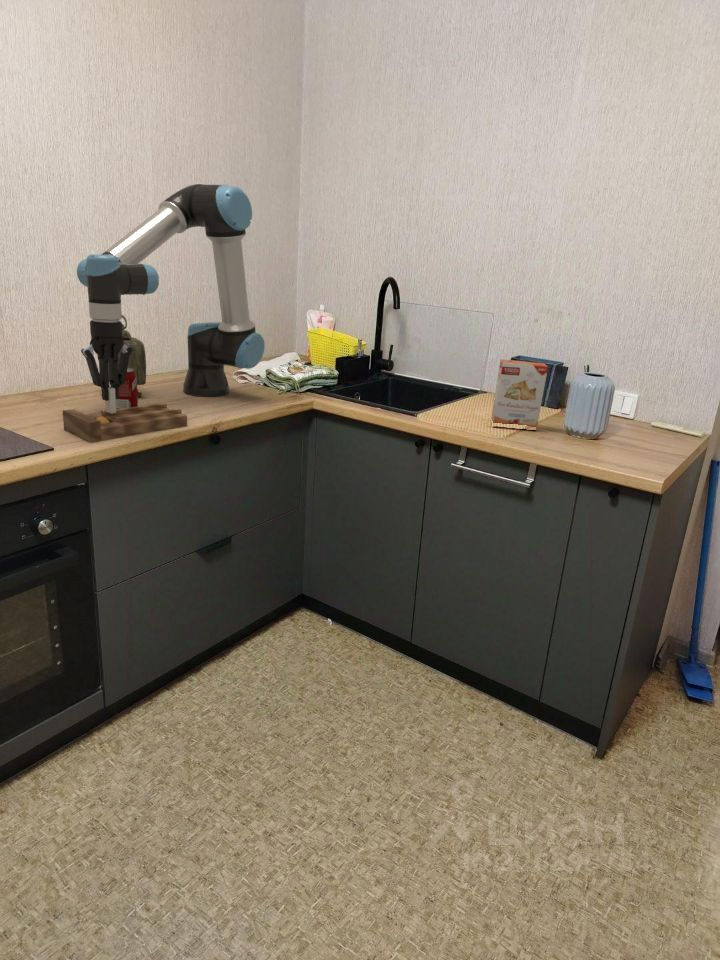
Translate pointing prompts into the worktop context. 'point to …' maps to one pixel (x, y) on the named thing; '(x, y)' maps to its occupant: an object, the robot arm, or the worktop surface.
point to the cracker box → (519, 392)
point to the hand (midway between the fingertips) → (111, 411)
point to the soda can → (128, 391)
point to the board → (123, 422)
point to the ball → (103, 420)
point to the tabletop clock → (135, 356)
